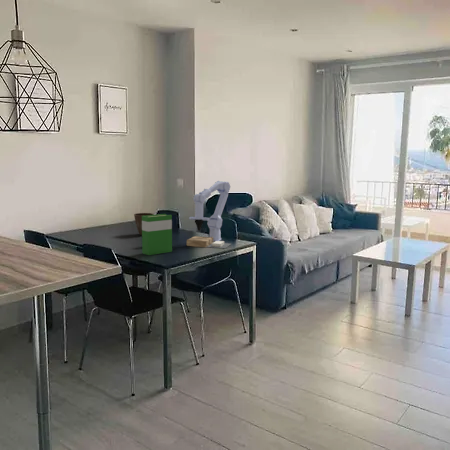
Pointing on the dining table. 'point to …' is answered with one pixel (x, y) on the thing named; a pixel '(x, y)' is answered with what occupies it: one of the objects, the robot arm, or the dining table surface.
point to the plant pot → (140, 220)
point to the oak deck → (200, 241)
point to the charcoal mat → (221, 246)
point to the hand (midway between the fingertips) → (199, 230)
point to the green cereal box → (156, 234)
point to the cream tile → (218, 243)
